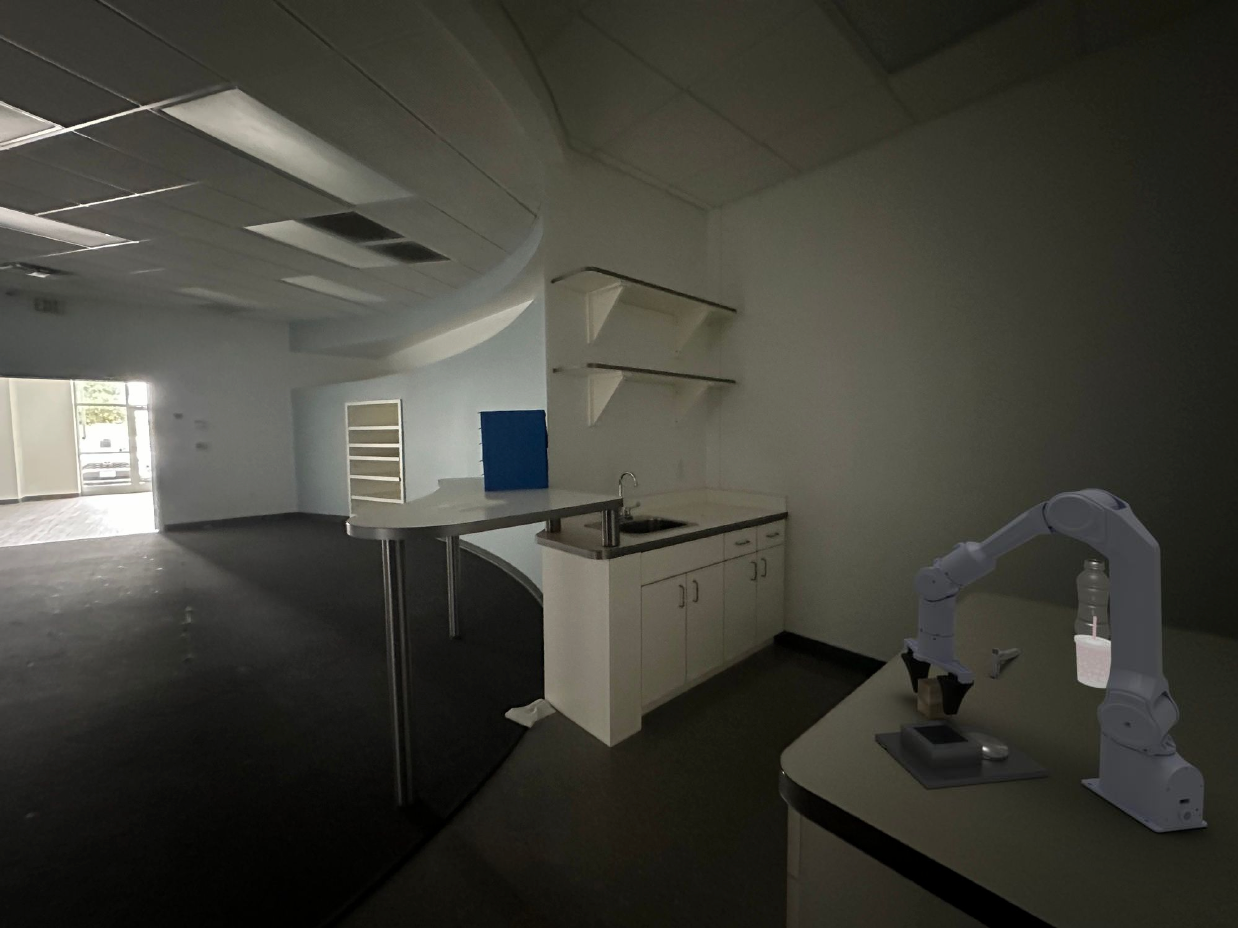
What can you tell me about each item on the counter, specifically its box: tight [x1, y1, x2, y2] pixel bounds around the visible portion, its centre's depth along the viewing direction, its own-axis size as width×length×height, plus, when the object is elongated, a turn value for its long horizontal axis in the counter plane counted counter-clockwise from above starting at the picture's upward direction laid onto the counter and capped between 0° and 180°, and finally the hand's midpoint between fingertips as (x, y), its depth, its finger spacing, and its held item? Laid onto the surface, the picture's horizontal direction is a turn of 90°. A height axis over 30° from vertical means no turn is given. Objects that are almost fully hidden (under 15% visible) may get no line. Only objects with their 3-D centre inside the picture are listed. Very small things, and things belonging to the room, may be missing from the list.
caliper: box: [989, 647, 1022, 679], centre depth 112 cm, size 20×1×6 cm, turn 129°
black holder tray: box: [874, 719, 1050, 790], centre depth 79 cm, size 12×20×4 cm, turn 97°
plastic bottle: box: [1074, 559, 1111, 640], centre depth 124 cm, size 6×7×20 cm
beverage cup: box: [1073, 616, 1111, 689], centre depth 103 cm, size 6×6×14 cm
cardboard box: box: [917, 677, 953, 720], centre depth 92 cm, size 3×4×6 cm, turn 97°
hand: (934, 702), depth 92 cm, fingers open, 7 cm apart
